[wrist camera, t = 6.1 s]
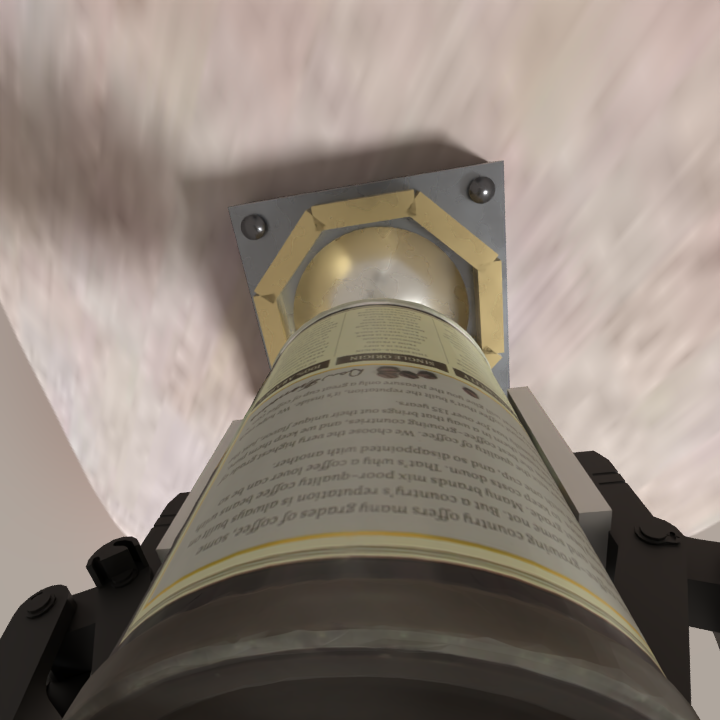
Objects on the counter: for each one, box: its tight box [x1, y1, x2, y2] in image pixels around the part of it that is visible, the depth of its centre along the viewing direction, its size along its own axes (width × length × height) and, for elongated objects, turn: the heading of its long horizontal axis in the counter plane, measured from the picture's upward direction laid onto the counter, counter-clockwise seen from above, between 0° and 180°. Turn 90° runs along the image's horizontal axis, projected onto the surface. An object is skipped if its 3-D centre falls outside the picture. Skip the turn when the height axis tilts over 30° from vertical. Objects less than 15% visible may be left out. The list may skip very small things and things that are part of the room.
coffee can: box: [62, 298, 700, 720], centre depth 13 cm, size 10×10×14 cm
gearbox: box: [228, 161, 510, 397], centre depth 33 cm, size 18×18×6 cm
